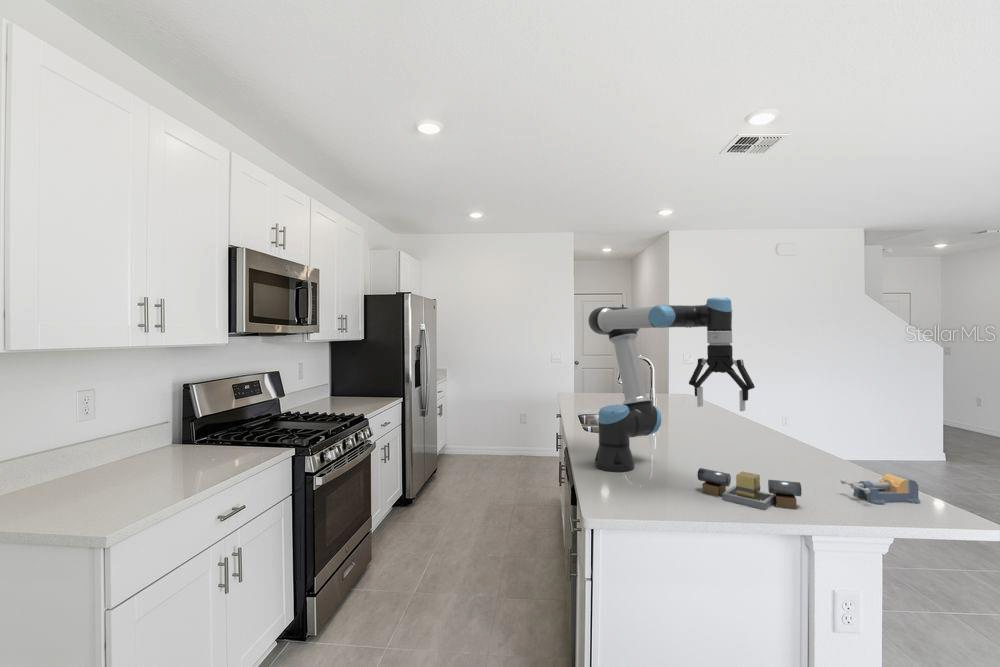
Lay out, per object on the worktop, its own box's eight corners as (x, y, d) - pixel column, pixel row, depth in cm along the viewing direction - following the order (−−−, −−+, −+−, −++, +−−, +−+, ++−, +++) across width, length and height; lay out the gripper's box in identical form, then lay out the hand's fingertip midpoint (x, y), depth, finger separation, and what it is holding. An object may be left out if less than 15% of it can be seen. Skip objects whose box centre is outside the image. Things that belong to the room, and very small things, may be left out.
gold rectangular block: (736, 500, 143) (735, 474, 143) (742, 496, 146) (742, 471, 146) (754, 505, 139) (753, 478, 139) (760, 500, 142) (760, 474, 142)
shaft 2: (771, 506, 137) (770, 482, 137) (767, 499, 143) (767, 476, 143) (802, 509, 134) (802, 485, 134) (797, 502, 140) (797, 479, 140)
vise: (893, 492, 148) (893, 471, 148) (924, 504, 138) (924, 482, 138) (839, 494, 147) (839, 473, 147) (866, 506, 137) (866, 483, 137)
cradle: (722, 499, 143) (722, 493, 143) (734, 492, 150) (734, 486, 150) (765, 510, 135) (765, 503, 135) (775, 501, 141) (775, 495, 141)
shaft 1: (696, 491, 151) (696, 470, 151) (704, 487, 155) (703, 466, 155) (724, 498, 145) (724, 475, 145) (732, 493, 149) (731, 471, 149)
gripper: (678, 344, 160) (679, 405, 160) (756, 344, 141) (757, 414, 141) (687, 343, 165) (688, 403, 165) (764, 344, 147) (766, 411, 146)
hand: (720, 408), depth 153 cm, fingers open, 13 cm apart
